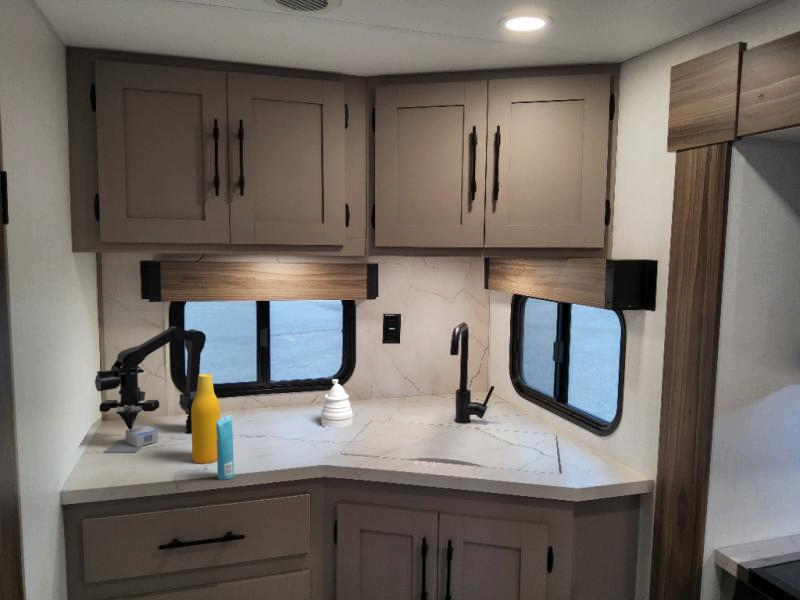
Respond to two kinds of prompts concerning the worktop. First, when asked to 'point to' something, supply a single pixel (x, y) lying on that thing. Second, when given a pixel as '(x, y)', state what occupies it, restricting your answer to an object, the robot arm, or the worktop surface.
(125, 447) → the rubber mat
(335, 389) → the honey pot
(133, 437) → the medicine box
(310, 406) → the worktop surface
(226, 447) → the tube
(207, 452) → the beer bottle
